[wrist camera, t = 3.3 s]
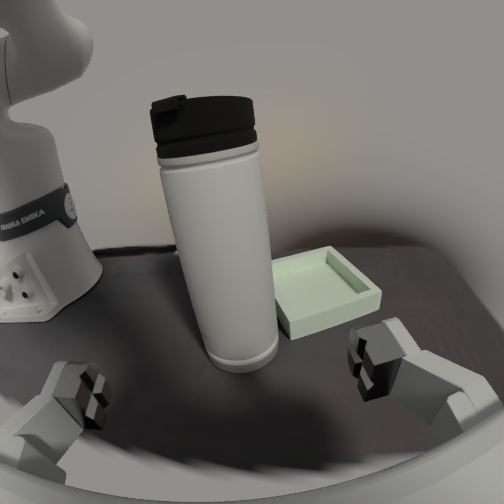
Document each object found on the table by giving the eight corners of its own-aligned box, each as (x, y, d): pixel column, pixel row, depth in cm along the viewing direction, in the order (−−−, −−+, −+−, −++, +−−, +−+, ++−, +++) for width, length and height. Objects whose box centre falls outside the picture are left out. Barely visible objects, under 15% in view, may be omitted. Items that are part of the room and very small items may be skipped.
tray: (290, 340, 25) (289, 322, 24) (257, 281, 34) (255, 264, 33) (379, 309, 27) (382, 291, 26) (330, 261, 36) (330, 245, 35)
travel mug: (192, 365, 24) (121, 111, 14) (229, 318, 29) (189, 101, 19) (259, 386, 21) (211, 86, 12) (289, 331, 26) (268, 87, 17)
